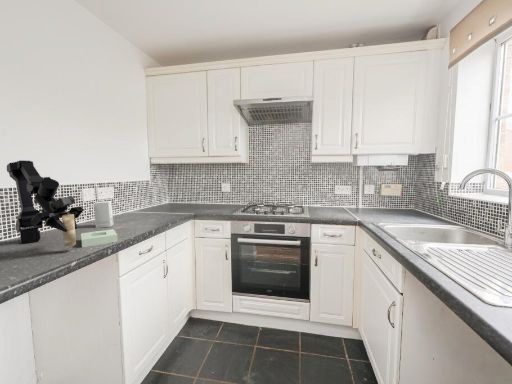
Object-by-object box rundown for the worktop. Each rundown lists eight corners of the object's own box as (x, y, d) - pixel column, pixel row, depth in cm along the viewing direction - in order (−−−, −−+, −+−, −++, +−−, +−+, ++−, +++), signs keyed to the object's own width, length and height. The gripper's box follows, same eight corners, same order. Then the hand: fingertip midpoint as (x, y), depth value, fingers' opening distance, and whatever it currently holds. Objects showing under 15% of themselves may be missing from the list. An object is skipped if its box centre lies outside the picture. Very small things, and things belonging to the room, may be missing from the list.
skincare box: (113, 224, 150) (112, 200, 149) (110, 227, 144) (108, 202, 143) (98, 225, 148) (97, 201, 147) (94, 228, 142) (93, 202, 140)
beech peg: (64, 246, 98) (61, 216, 97) (64, 244, 101) (62, 214, 100) (76, 245, 100) (73, 215, 99) (76, 242, 103) (74, 213, 102)
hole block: (82, 247, 106) (81, 239, 105) (81, 240, 117) (81, 233, 116) (117, 241, 114) (117, 234, 114) (114, 235, 125) (113, 229, 125)
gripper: (33, 192, 90) (59, 222, 89) (79, 189, 108) (100, 213, 107) (19, 212, 92) (44, 241, 91) (66, 205, 111) (87, 229, 109)
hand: (71, 229), depth 100 cm, fingers closed on beech peg, 4 cm apart
